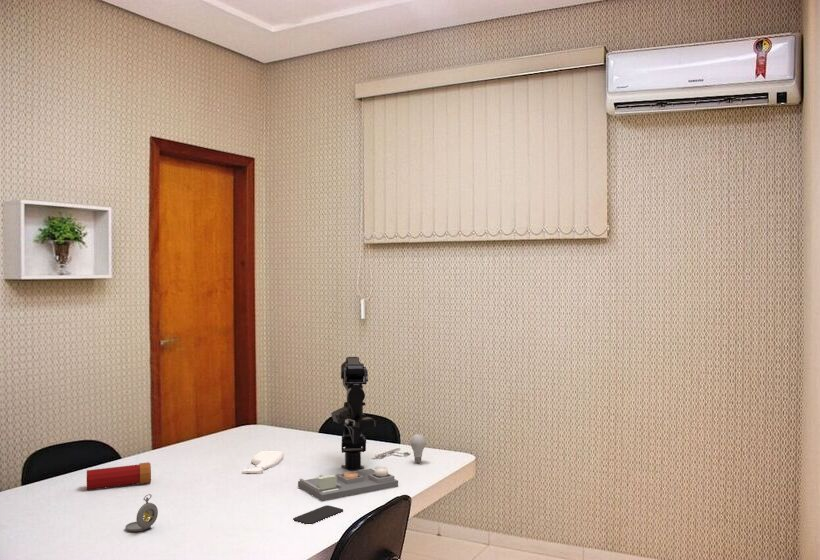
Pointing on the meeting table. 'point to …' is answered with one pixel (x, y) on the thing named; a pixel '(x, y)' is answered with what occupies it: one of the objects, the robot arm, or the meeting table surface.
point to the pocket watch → (141, 523)
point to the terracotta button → (350, 475)
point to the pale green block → (327, 482)
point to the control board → (349, 485)
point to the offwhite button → (381, 471)
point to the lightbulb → (417, 446)
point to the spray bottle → (265, 461)
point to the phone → (318, 514)
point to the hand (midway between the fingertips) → (354, 443)
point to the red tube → (119, 476)
